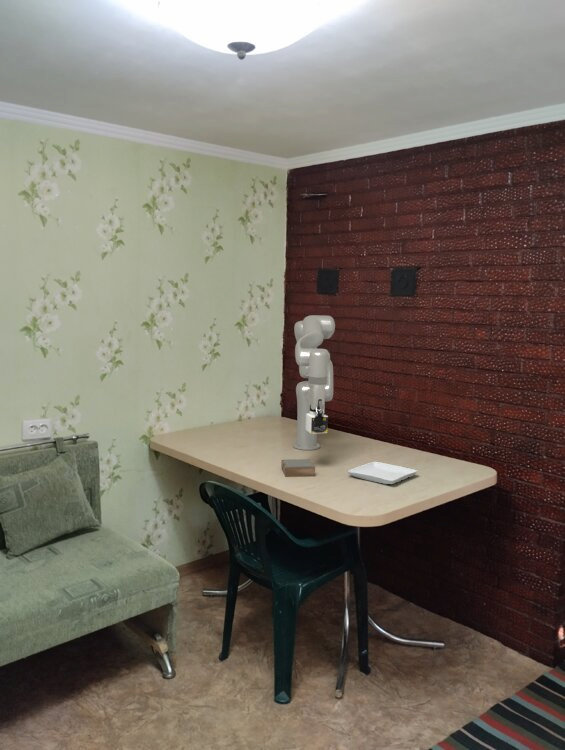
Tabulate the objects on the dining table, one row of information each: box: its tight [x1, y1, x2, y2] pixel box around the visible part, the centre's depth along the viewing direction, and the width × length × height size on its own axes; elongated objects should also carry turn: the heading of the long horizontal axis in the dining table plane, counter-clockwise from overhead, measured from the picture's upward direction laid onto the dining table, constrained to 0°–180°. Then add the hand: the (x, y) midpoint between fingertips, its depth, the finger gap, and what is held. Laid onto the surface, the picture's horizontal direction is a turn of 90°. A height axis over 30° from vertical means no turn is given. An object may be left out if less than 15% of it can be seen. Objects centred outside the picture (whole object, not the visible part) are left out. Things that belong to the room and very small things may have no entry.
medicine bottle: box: [306, 405, 329, 435], centre depth 261 cm, size 7×7×12 cm
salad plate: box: [347, 461, 419, 485], centre depth 257 cm, size 21×21×3 cm
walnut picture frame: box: [280, 458, 316, 478], centre depth 261 cm, size 12×12×4 cm
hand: (316, 423), depth 262 cm, fingers closed on medicine bottle, 7 cm apart
